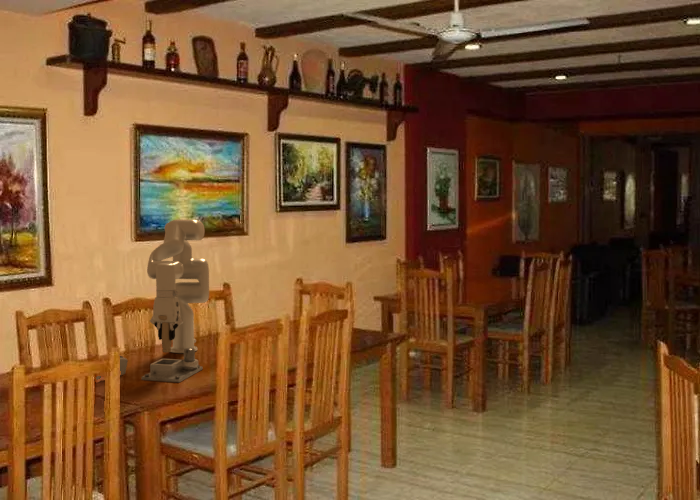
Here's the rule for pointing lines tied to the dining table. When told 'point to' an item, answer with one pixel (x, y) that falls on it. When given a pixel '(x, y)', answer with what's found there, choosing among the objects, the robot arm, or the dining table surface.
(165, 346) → the handle
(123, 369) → the hinge
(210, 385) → the dining table surface
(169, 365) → the fitting
